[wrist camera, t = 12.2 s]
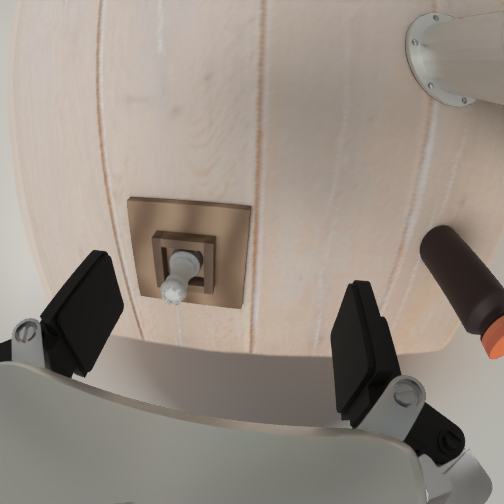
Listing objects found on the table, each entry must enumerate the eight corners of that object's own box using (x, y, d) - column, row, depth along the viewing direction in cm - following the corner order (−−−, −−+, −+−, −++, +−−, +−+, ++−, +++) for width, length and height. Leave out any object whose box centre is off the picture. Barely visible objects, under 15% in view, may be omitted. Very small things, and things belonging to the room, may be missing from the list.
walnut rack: (250, 206, 36) (249, 217, 33) (242, 303, 44) (240, 318, 41) (130, 197, 36) (120, 206, 33) (143, 290, 44) (136, 303, 41)
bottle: (455, 256, 37) (519, 349, 20) (420, 269, 39) (476, 373, 22) (455, 219, 34) (535, 310, 17) (417, 232, 36) (489, 337, 19)
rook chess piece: (182, 238, 37) (163, 274, 30) (209, 256, 38) (197, 296, 32) (166, 259, 39) (147, 297, 32) (192, 277, 40) (178, 316, 34)
